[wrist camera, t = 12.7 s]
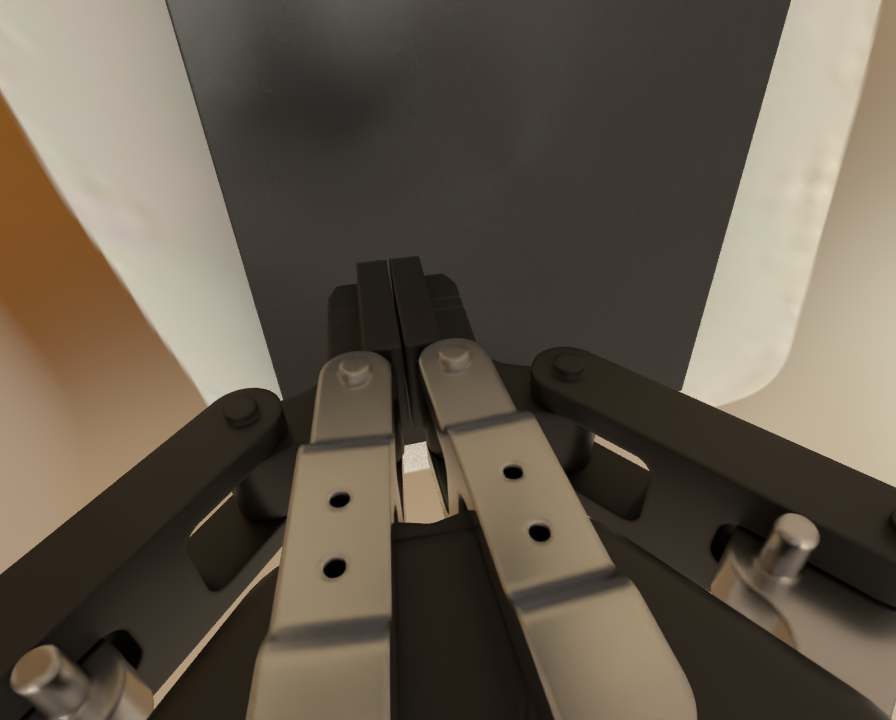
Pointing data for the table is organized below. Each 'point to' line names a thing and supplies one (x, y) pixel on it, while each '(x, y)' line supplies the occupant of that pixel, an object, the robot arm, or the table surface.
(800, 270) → the table surface
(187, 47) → the laptop screen
